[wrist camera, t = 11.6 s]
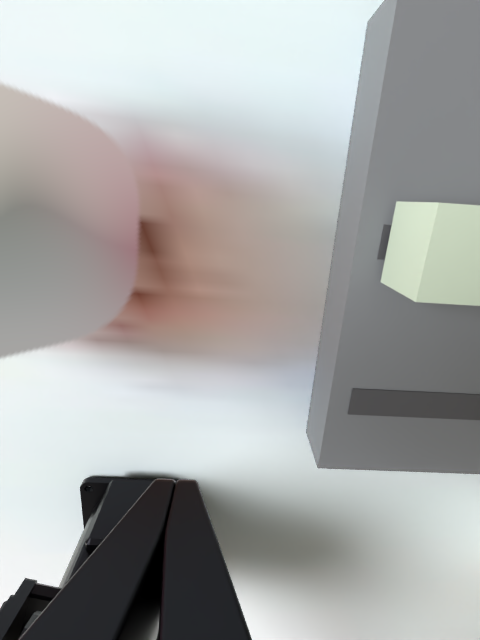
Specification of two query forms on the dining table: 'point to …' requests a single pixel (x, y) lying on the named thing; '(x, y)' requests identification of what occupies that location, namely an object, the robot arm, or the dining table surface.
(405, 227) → the sage slider
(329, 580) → the dining table surface
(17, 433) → the dining table surface
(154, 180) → the dining table surface
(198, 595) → the robot arm
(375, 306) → the control panel
